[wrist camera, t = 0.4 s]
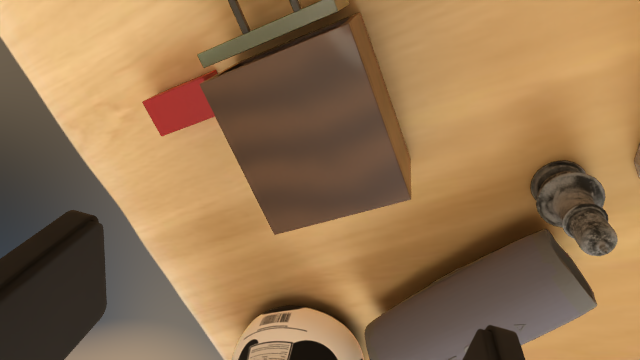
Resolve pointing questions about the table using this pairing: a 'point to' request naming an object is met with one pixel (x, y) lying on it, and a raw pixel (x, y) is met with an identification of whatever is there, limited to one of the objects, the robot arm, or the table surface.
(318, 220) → the cabinet
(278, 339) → the milk container
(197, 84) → the red slab
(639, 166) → the cup
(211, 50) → the drawer
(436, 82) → the table surface
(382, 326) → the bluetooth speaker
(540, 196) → the salt shaker
